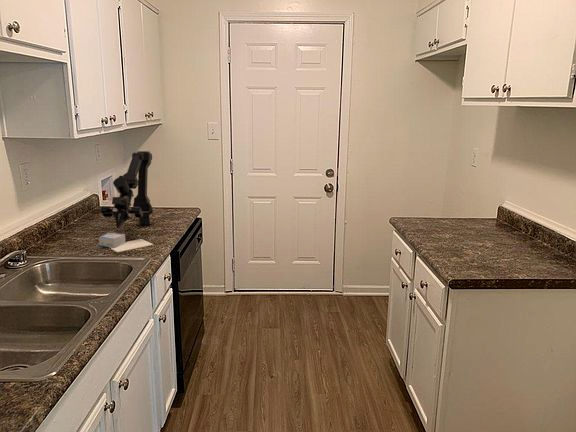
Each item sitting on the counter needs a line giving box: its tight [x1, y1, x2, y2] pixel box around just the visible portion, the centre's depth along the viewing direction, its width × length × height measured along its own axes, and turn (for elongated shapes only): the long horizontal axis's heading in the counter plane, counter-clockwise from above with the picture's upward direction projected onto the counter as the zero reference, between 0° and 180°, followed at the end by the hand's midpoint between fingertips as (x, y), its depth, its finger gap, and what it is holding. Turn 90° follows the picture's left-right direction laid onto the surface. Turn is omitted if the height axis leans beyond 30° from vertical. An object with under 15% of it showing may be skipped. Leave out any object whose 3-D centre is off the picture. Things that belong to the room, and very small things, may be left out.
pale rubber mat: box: [108, 238, 154, 253], centre depth 213 cm, size 12×17×1 cm
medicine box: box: [98, 232, 127, 248], centre depth 213 cm, size 8×4×9 cm
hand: (117, 227), depth 215 cm, fingers closed
